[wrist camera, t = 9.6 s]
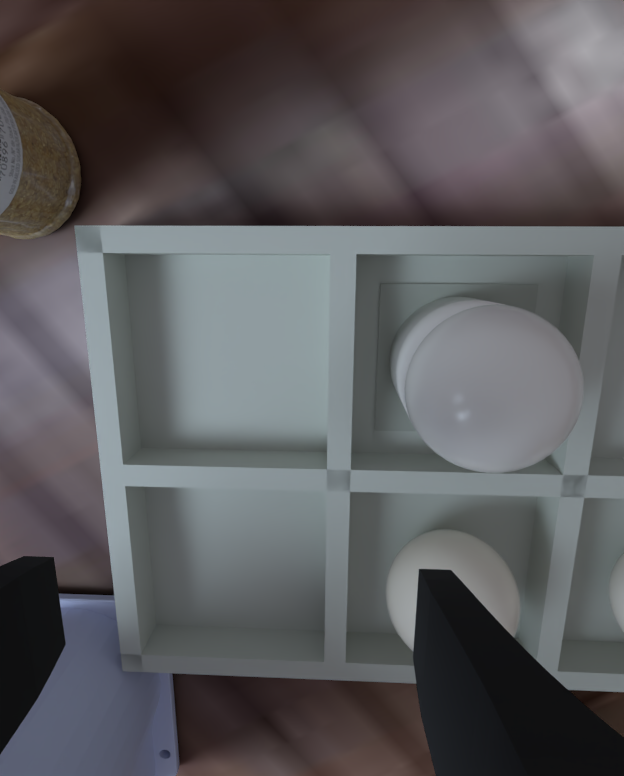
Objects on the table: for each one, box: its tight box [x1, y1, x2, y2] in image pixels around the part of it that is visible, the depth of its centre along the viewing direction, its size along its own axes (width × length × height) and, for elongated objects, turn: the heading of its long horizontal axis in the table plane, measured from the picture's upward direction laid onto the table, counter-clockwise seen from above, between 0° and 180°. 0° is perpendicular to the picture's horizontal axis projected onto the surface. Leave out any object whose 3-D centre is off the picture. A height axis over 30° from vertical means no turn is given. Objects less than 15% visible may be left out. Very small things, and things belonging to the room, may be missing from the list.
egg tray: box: [74, 226, 624, 692], centre depth 17 cm, size 16×24×2 cm
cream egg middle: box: [386, 529, 520, 651], centre depth 16 cm, size 4×4×4 cm
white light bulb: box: [389, 296, 584, 473], centre depth 13 cm, size 4×4×6 cm
